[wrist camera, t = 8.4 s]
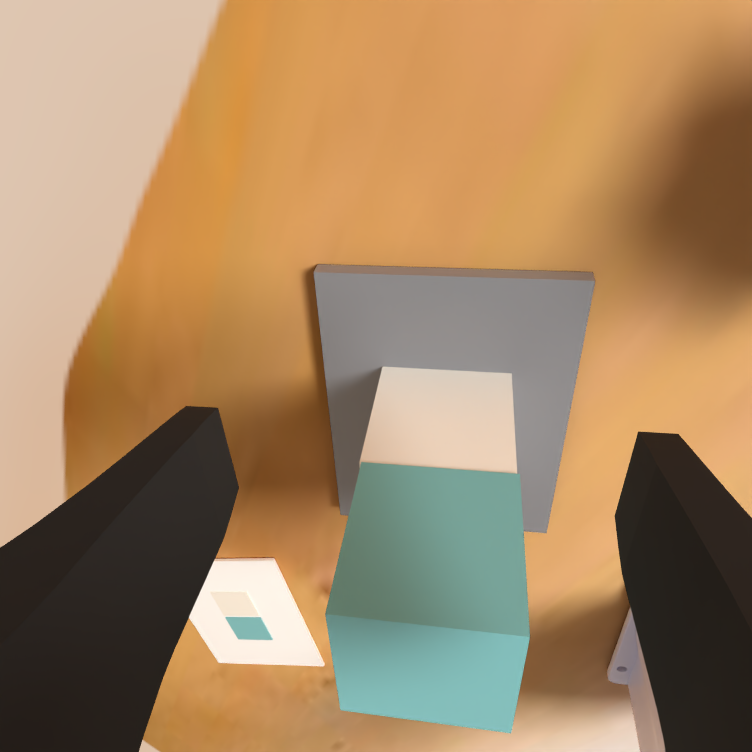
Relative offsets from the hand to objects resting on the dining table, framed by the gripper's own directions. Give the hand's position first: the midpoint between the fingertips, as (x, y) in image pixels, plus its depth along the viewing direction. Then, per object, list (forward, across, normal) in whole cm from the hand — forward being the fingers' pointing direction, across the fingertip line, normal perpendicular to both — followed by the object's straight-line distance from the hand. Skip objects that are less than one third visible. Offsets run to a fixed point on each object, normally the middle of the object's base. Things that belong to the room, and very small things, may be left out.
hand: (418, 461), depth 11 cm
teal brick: (+5, 0, +7) cm, 9 cm away
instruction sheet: (+10, +11, +23) cm, 28 cm away
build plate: (+10, 0, +7) cm, 13 cm away
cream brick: (+10, 0, +7) cm, 12 cm away
